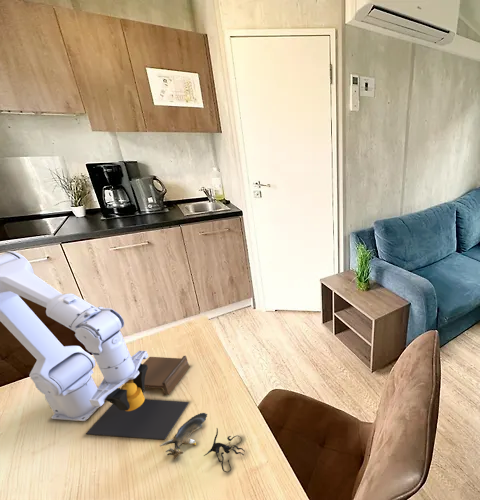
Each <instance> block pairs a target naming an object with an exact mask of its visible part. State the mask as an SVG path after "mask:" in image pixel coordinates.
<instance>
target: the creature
mask: <svg viewBox="0 0 480 500" xmlns="http://www.w3.org/2000/svg"><path fill="white" fill-rule="evenodd" d="M218 434H219V429H218V427H216V432H215V436H214V438H213V443H212V446H211V448H210V449H209V450H208V451H207V453H205V454H204V455H203V457H205V456H207V455H208V454H210V453H212V452H214V453H215V455H216V457H217V460H218V462H219V463H221V464H220V465H221V469H222V471H223V472H224V473H230V472H231V471H232V467H231V464H230V459H227V462H228V466H229V468H230V469H229V470H228V471H226V470H225V469H224V465H223V464H226V462H224V459H225V457H224V454H230V453H231V451H233V452H234V455H239V454H240V455H242V456H245V454H243V453H242V452H241V451H243V452H244V453H246V450H245V449H243V448H242V447H238V446H237V445H239V444H240V442H243V439H242V437H241V436H240V435H238V437H239V438H240V442H237V444H234V445H231V442H232V440H234V439H235V438H236V437H237V435H234V436H231V435H228V436H227V437H226V439H227V441H229V442H228V444H224V443H222V442H217V438H218ZM220 448H222V449H223V451H221V453H220V450H221V449H220ZM234 448H236V449H234ZM236 450H238V451H236ZM240 450H241V451H240ZM218 454H220V457H221V459H222V460H221V459H220V458H219V455H218Z"/></svg>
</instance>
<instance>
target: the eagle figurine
mask: <svg viewBox="0 0 480 500" xmlns="http://www.w3.org/2000/svg"><path fill="white" fill-rule="evenodd" d="M207 417H208V413H206V412H200V413H197V414H195V415H194V416H192V417H191V418H189V419H188V420H187V421H185V422H184V423H183V424H182V425H181V426H180V427H179V428H178V429H177V432H176V433H175V434H174V435H173V437H172V438H171V439H169V440H167V441H165V442H163V443H160V444H159V446H160V447H162V446H169V445H171V444H174V449H173V448H171V447H170V448H169V449H166V450H165V453H166V456H173V459H174V460H176V459H177V458H178V457H179V455H182V454H184V451H183V450H180V449H181V446H186V445H194V446H196V445H197V443H196V441H195V439H193V438H190V436H191V435H192V433H193V432H195V431H196V430H198V429H200V428H202V427H203V423H204V422H206V420H207ZM168 452H169V453H168Z"/></svg>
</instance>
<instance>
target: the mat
mask: <svg viewBox="0 0 480 500" xmlns="http://www.w3.org/2000/svg"><path fill="white" fill-rule="evenodd" d="M188 405H189V401H179V400H165V399H163V400H162V399H149V398H145V400H144V402H143V404H142V405H141V406H140V407H138V408H137V409H135V410H132V411H125V410H119V409H118V408H117V407H116V406H115V405H114V404H112V403H111V405H110V406H109V407H108V409H106V411H105V412H104V413H103V414H102V415H101V416H100V417H99V418H98V420H96V422H95V423H94V424H93V425H92V426H91V427H90V428H89V429H88V431H87V432H86V433H85V434H86V435H88V436H89V435H91V436H103V437H116V438H117V437H118V438H128V439H129V438H131V439H144V440H159V441H165V440H166V439H167V437H168V436H169V434H170V433H171V431H172V430H173V428H174V426H175V425H176V424H177V422H178V420H179V419H180V417H181V416H182V414H183V413H184V411H185V410H186V408H187V406H188Z"/></svg>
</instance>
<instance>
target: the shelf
mask: <svg viewBox="0 0 480 500" xmlns="http://www.w3.org/2000/svg"><path fill="white" fill-rule="evenodd" d="M142 364H146V365H147V367H148V369H147V371H146V375H145V383H144V388H149V389H151V388H152V389H162V391H163V393H164V395H165V396H170V395H171V393H172V391H173V390H174V389H175V388H176V387H177V385H178V384H179V382H180V381H181V379H182V378H183V377H184V375H185V374H186V372H188V370H189V369H190V365H189V360H188V358H187V356H186V355H183V356H182V357H164V356H148V357H147V358H146V359H145V361H144V362H143V363H142ZM127 382H128V381H127ZM127 382H125V383H124V384H126V383H127Z"/></svg>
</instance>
